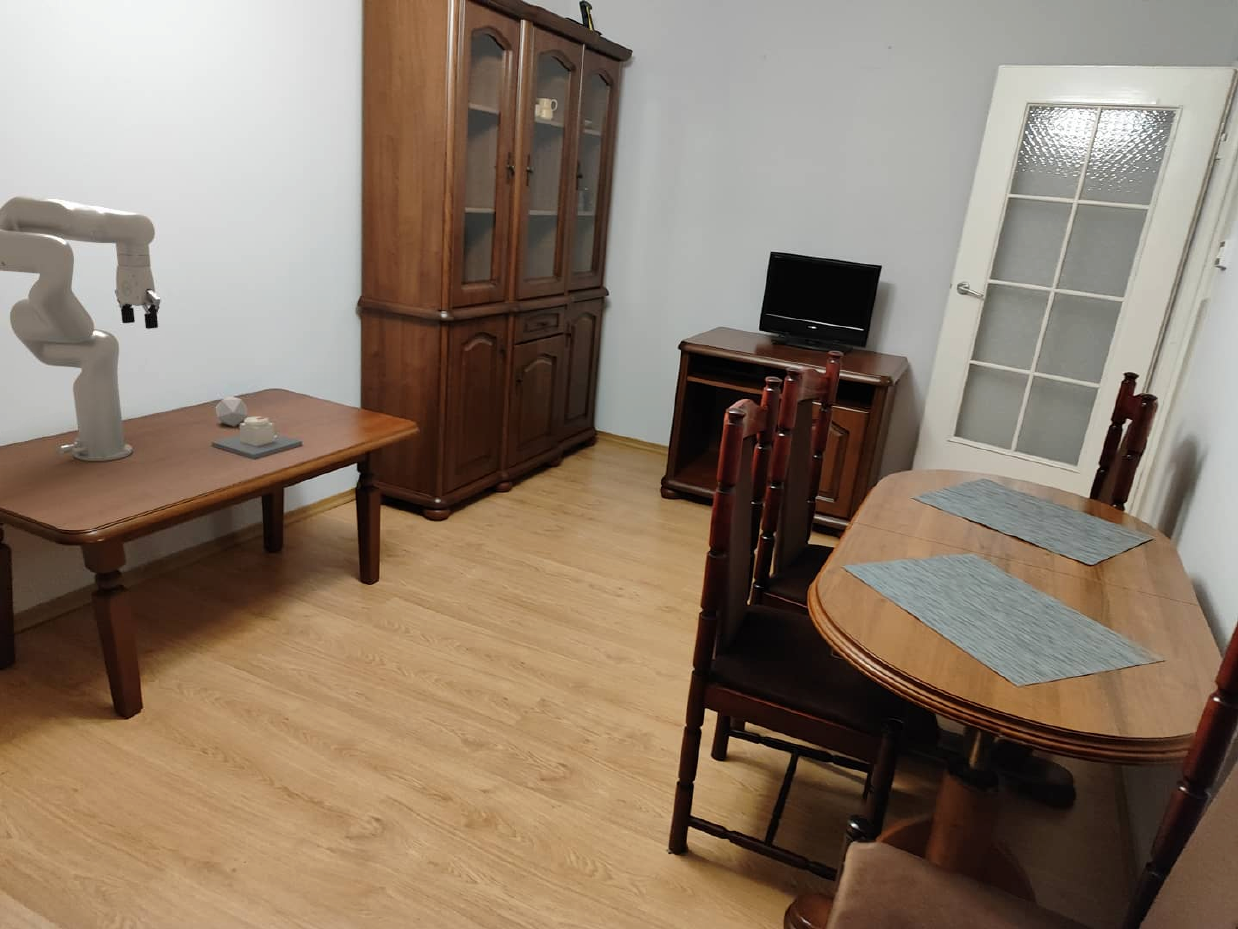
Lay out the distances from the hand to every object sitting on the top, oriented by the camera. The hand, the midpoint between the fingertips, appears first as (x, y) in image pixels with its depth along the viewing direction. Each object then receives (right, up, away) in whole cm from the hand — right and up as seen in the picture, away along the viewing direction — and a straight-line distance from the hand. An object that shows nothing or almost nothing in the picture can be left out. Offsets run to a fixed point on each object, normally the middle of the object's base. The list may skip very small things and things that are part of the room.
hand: (140, 325), depth 222 cm
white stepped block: (+32, -32, 0) cm, 45 cm away
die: (+17, -26, +17) cm, 36 cm away
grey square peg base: (+32, -33, +1) cm, 46 cm away
